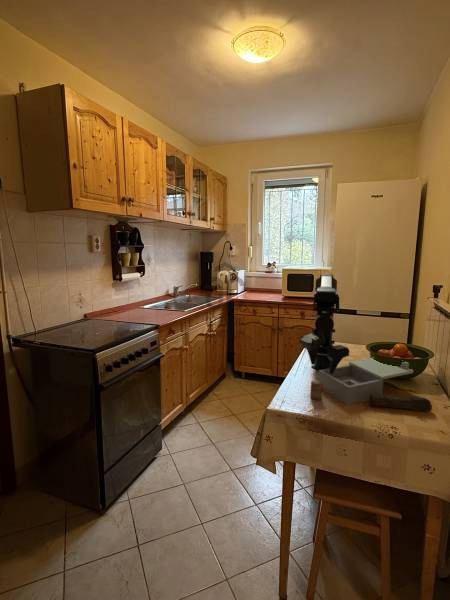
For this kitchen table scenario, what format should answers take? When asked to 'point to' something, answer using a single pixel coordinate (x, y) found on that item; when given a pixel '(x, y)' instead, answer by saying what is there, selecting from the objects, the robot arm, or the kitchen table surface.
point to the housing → (350, 384)
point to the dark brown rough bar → (402, 403)
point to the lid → (381, 368)
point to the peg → (316, 390)
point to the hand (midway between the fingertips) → (321, 368)
